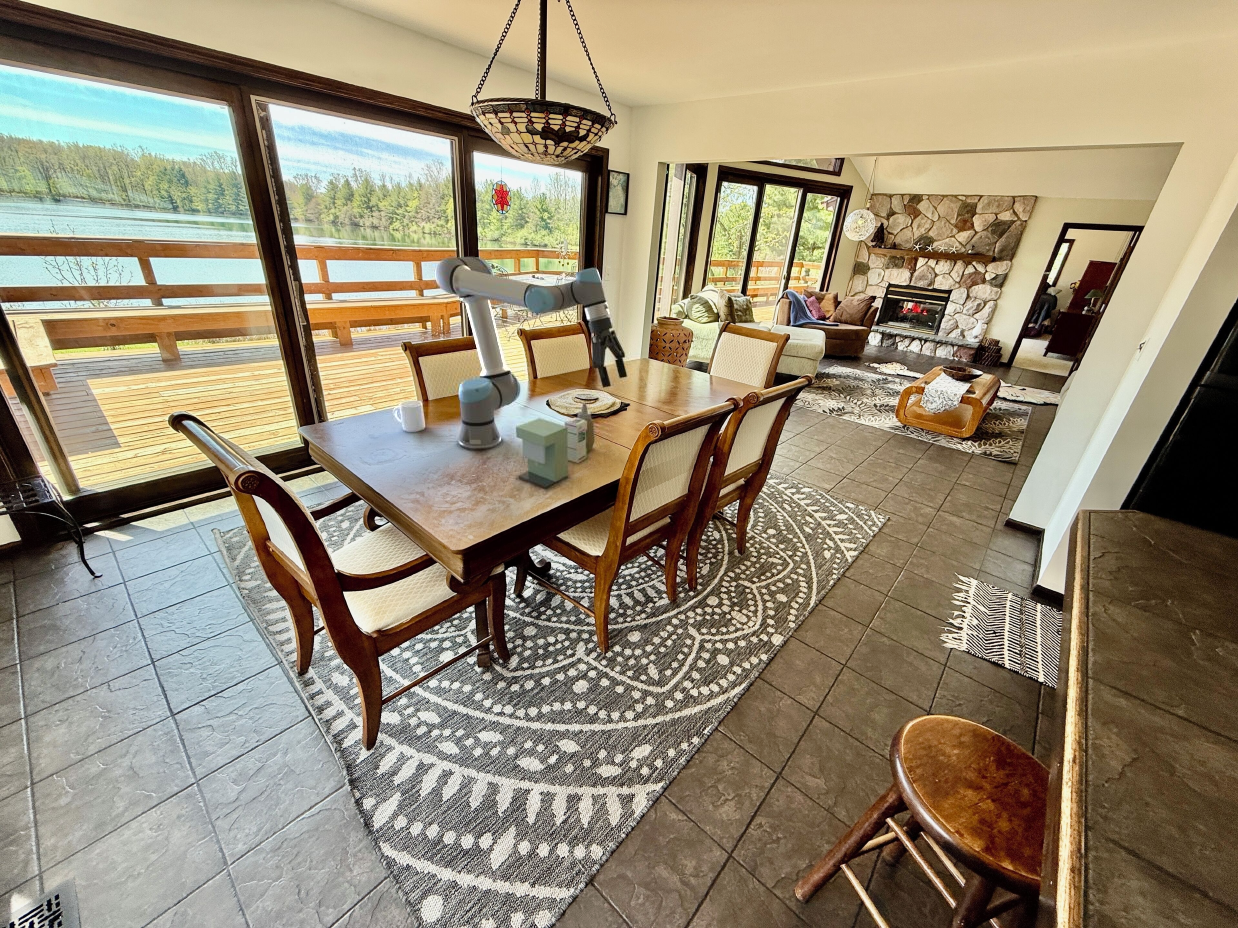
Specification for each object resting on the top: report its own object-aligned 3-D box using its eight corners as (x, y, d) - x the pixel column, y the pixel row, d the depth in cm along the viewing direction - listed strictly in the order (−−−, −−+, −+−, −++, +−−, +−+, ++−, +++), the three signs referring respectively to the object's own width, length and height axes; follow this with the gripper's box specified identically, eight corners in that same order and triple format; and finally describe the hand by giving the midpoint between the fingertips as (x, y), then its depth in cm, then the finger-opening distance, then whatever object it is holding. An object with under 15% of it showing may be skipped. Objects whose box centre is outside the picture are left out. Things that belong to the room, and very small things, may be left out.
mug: (389, 430, 187) (385, 405, 183) (400, 423, 194) (396, 399, 190) (419, 433, 186) (415, 408, 182) (429, 425, 194) (425, 401, 189)
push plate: (543, 464, 148) (543, 446, 146) (522, 456, 153) (522, 438, 150) (545, 463, 149) (545, 445, 146) (524, 455, 153) (524, 438, 151)
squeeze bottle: (591, 455, 175) (592, 408, 167) (570, 452, 176) (570, 405, 169) (596, 446, 182) (598, 401, 175) (576, 444, 184) (576, 399, 176)
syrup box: (577, 463, 168) (578, 424, 162) (564, 459, 171) (564, 420, 165) (587, 458, 173) (588, 420, 166) (574, 453, 175) (574, 416, 169)
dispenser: (545, 489, 150) (544, 436, 142) (518, 478, 156) (515, 426, 148) (567, 477, 158) (567, 426, 150) (540, 467, 164) (539, 418, 156)
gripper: (591, 321, 145) (609, 389, 151) (624, 311, 165) (638, 372, 172) (570, 326, 148) (589, 392, 154) (605, 317, 169) (620, 375, 175)
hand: (615, 382), depth 163 cm, fingers open, 13 cm apart
